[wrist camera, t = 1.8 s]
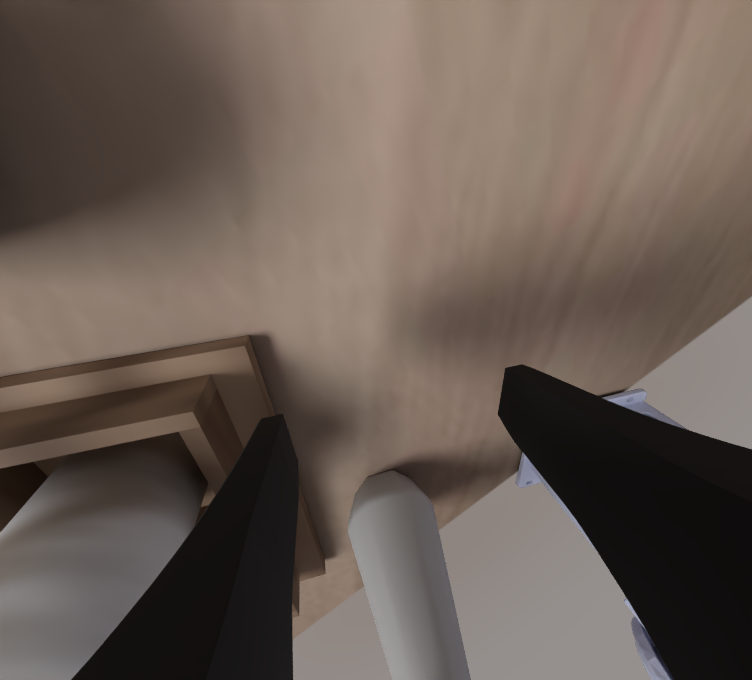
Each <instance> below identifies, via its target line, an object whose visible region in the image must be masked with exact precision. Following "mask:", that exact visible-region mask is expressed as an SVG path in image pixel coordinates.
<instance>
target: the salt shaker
mask: <svg viewBox="0 0 752 680" xmlns="http://www.w3.org/2000/svg"><path fill="white" fill-rule="evenodd" d="M348 533H349V537H350V540H351V543H352V547H353V550H354V553H355V557H356V560H357V563H358V567H359V570H360V573H361V577H362V580H363V583H364V587H365V590H366V593H367V596H368V600H369V603H370V607H371V610H372V613H373V616H374V620H375V623H376V626H377V630H378V633H379V637H380V640H381V643H382V647H383V650H384V653H385V656H386V660H387V663H388V666H389V670H390V673H391V677H392V680H471V679H470V674H469V669H468V665H467V660H466V656H465V651H464V646H463V642H462V637H461V633H460V628H459V623H458V618H457V614H456V609H455V605H454V600H453V595H452V591H451V586H450V581H449V577H448V572H447V568H446V563H445V558H444V554H443V549H442V544H441V540H440V535H439V531H438V526H437V521H436V517H435V512H434V507H433V504H432V503H431V501H430V499H429V498H428V497H427V496H426V495H425V494H424V493H423V492H422V491H421V490H420V488H419V487H418V486H417V485H416V484H415V483H414V482H413V481H412V480H411V479H410V478H408V477H406V476H404V475H402V474H400V473H398V472H396V471H393V470H391V471H387V472H384V473H380V474H377V475H373V476H370V477H367V478H366V480H365V481H364V483H363V484H362V485H361V487H360V488H359V489H358V491H357V492H356V494H355V496H354V501H353V505H352V509H351V513H350V517H349V522H348Z"/></svg>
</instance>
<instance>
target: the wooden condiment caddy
mask: <svg viewBox="0 0 752 680" xmlns="http://www.w3.org/2000/svg"><path fill="white" fill-rule="evenodd" d="M271 416H275V412H274V409H273V406H272V403H271V400H270V397H269V394H268V391H267V388H266V386H265V383H264V380H263V377H262V374H261V371H260V368H259V365H258V362H257V359H256V356H255V353H254V350H253V347H252V344H251V341H250V338H249V336H243V337H237V338H231V339H225V340H219V341H214V342H208V343H202V344H196V345H190V346H184V347H178V348H172V349H166V350H160V351H154V352H148V353H142V354H136V355H130V356H125V357H119V358H113V359H107V360H101V361H95V362H89V363H83V364H77V365H71V366H65V367H59V368H53V369H47V370H41V371H36V372H30V373H24V374H18V375H12V376H6V377H0V680H71V679H72V678H73V677H74V676H75V675H76V673H77V672H78V671H79V670H80V669H81V668H82V667H83V666H84V665H85V663H86V662H87V661H88V660H89V659H90V658H91V657H92V655H93V654H94V653H95V652H96V651H97V650H98V648H99V647H100V646H101V645H102V644H103V643H104V641H105V640H106V639H107V638H108V637H109V635H110V634H111V633H112V632H113V631H114V629H115V628H116V627H117V626H118V625H119V623H120V622H121V621H122V620H123V619H124V617H125V616H126V615H127V614H128V612H129V611H130V610H131V609H132V607H133V606H134V605H135V604H136V603H137V601H138V600H139V599H140V598H141V596H142V595H143V594H144V593H145V591H146V590H147V589H148V588H149V587H150V585H151V584H152V583H153V581H154V580H155V579H156V578H157V576H158V575H159V574H160V572H161V571H162V570H163V568H164V567H165V566H166V565H167V563H168V562H169V561H170V559H171V558H172V557H173V555H174V554H175V553H176V551H177V550H178V549H179V547H180V546H181V544H182V543H183V542H184V540H185V539H186V538H187V536H188V535H189V533H190V532H191V531H192V529H193V528H194V526H195V525H196V523H197V522H198V520H199V519H200V517H201V516H202V514H203V513H204V511H205V510H206V508H207V507H208V505H209V504H210V503H211V501H212V500H213V498H214V497H215V495H216V494H217V492H218V490H219V489H220V487H221V486H222V484H223V482H224V481H225V479H226V478H227V476H228V474H229V473H230V471H231V469H232V468H233V466H234V464H235V463H236V461H237V459H238V458H239V456H240V454H241V453H242V451H243V449H244V447H245V446H246V444H247V442H248V440H249V439H250V437H251V435H252V433H253V431H254V430H255V428H256V426H257V424H258V422H259V421H260V420H261V418H266V417H271ZM323 574H325V559H324V556H323V553H322V550H321V547H320V544H319V541H318V538H317V536H316V533H315V530H314V527H313V524H312V521H311V518H310V515H309V512H308V509H307V506H306V503H305V500H304V497H303V494H302V491H301V488H300V486H299V503H298V518H297V532H296V546H295V560H294V574H293V593H292V618H293V617H296V616H299V581H303V580H306V579H309V578H313V577H316V576H320V575H323Z"/></svg>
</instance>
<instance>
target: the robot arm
mask: <svg viewBox="0 0 752 680" xmlns="http://www.w3.org/2000/svg"><path fill="white" fill-rule="evenodd" d="M646 396H647V392H646V391H644V390H643V389H636V390H632V391H627V392H623V393H619V394H615V395H611V396H606V397H602V398H601V397H599V396H596V395H594V394H592V393H589V392H587V391H584V390H582V389H580V388H578V387H575V386H573V385H571V384H568V383H566V382H564V381H561V380H559V379H557V378H555V377H552V376H550V375H548V374H545V373H543V372H541V371H538V370H536V369H533V368H531V367H528V366H525V365H517V366H512V367H507V368H505V373H504V379H503V385H502V392H501V398H500V404H499V410H498V416H499V417H500V419H501V421H502V422H503V424H504V426H505V427H506V429H507V431H508V432H509V434H510V435H511V437H512V439H513V440H514V442H515V443H516V444H517V446H518V447H519V448H520V449H521V451H522V452H523V453H522V457H521V461H520V466H519V470H518V474H517V478H516V484H517V486H518V487H520V488H523V487H526V486H530V485H534V484H537V483H541V482H542V483H543V484H544V486H545V487H546V488H547V489H548V491H549V492H550V493H551V495H552V496H553V497H554V498H555V499H556V501H557V502H558V503H559V505H560V506H561V507H562V508H563V510H564V511H565V512H566V513H567V515H568V516H569V517H570V518H571V520H572V521H573V522H574V523H575V525H576V526H577V527H578V528H579V530H580V531H581V532H582V533H583V535H584V536H585V537H586V539H587V540H588V541H589V542H590V544H591V545H592V546H593V547H594V549H595V550H596V551H597V552H598V554H599V555H600V556H601V558H602V560H603V561H604V563H605V564H606V566H607V567H608V569H609V570H610V572H611V574H612V575H613V577H614V578H615V580H616V581H617V583H618V585H619V586H620V588H621V589H622V591H623V592H624V594H625V596H626V599H625V600H624V602H625V604H626V605H627V606H628V608H629V609H630V610H631V612H632V613H633V614H634V615H635V617H634V618H633V619H632V622H631V625H632V631H633V635H634V638H635V644H636V648H637V651H638V654H639V656H640V659H641V661H642V663H643V665H644V667H645V669H646V671H647V673H648V674H649V676H650V678H651V680H752V449H748V448H745V447H741V446H738V445H734V444H731V443H727V442H724V441H721V440H717V439H714V438H710V437H708V436H705V435H701V434H698V433H695V432H692V431H689V430H687V429H686V428H684V427H683V426H681V425H679V424H678V423H676V422H675V421H673V420H672V419H670V418H669V417H667V416H666V415H664V414H662V413H661V412H659V411H658V410H656V409H655V408H653V407H652V406H650V405H648V404H647V403H645V402H644V400H645V398H646ZM298 503H299V479H298V460H297V457H296V454H295V451H294V448H293V445H292V441H291V438H290V435H289V432H288V429H287V426H286V423H285V419H284V416H283V414H280V415H275V416H271V417H266V418H261V420H260V421H259V422H258V424H257V426H256V428H255V430H254V431H253V433H252V435H251V437H250V439H249V440H248V442H247V444H246V446H245V447H244V449H243V451H242V453H241V454H240V456H239V458H238V459H237V461H236V463H235V464H234V466H233V468H232V469H231V471H230V473H229V474H228V476H227V478H226V479H225V481H224V482H223V484H222V486H221V487H220V489H219V490H218V492H217V494H216V495H215V497H214V498H213V500H212V501H211V503H210V504H209V505H208V507H207V508H206V510H205V511H204V513H203V514H202V516H201V517H200V519H199V520H198V522H197V523H196V525H195V526H194V528H193V529H192V531H191V532H190V533H189V535H188V536H187V538H186V539H185V540H184V542H183V543H182V544H181V546H180V547H179V549H178V550H177V551H176V553H175V554H174V555H173V557H172V558H171V559H170V561H169V562H168V563H167V565H166V566H165V567H164V568H163V570H162V571H161V572H160V574H159V575H158V576H157V578H156V579H155V580H154V581H153V583H152V584H151V585H150V587H149V588H148V589H147V590H146V591H145V593H144V594H143V595H142V596H141V598H140V599H139V600H138V601H137V603H136V604H135V605H134V606H133V607H132V609H131V610H130V611H129V612H128V614H127V615H126V616H125V617H124V619H123V620H122V621H121V622H120V623H119V625H118V626H117V627H116V628H115V629H114V631H113V632H112V633H111V634H110V635H109V637H108V638H107V639H106V640H105V641H104V643H103V644H102V645H101V646H100V647H99V648H98V650H97V651H96V652H95V653H94V654H93V655H92V657H91V658H90V659H89V660H88V661H87V662H86V663H85V665H84V666H83V667H82V668H81V669H80V670H79V671H78V672H77V673H76V675H75V676H74V677H73V678H72V679H71V680H293V652H292V593H293V574H294V560H295V546H296V532H297V518H298Z"/></svg>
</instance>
